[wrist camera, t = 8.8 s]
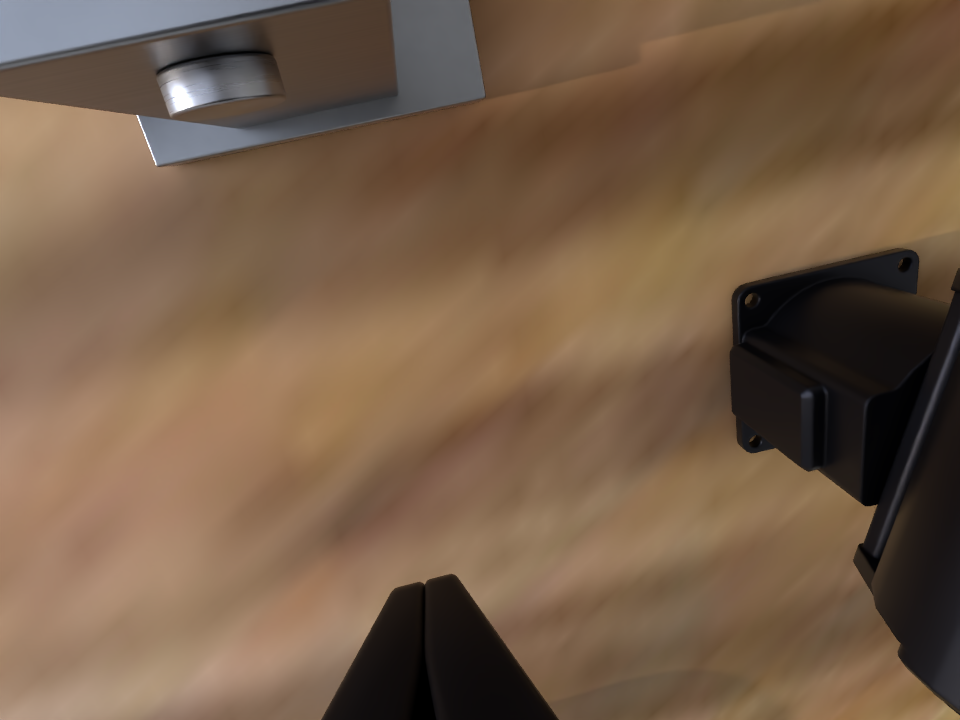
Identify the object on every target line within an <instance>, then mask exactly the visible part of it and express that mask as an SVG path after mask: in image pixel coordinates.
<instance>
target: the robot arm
mask: <svg viewBox="0 0 960 720" xmlns="http://www.w3.org/2000/svg"><path fill="white" fill-rule="evenodd" d="M902 259H903V262H902V265H901V266H900V267H899V268H898V265H899V262H900V261H901V260H902ZM918 269H919V256H918V255H917V253H916V252H914V251H912V250H908V249H903V248H897V249H892V250H888V251H884V252H879V253H875V254H871V255H866V256H862V257H858V258H853V259H849V260H845V261H840V262H836V263H832V264H827V265H823V266H819V267H814V268H810V269H806V270H801V271H797V272H793V273H788V274H784V275H780V276H775V277H771V278H767V279H763V280H758V281H754V282H750V283H745V284H743V285H741V286H739V287H738V288H737V289H736V290H735V291H734V293H733V295H732V324H733V347H732V349H731V351H730V375H731V399H732V412H733V414H734V415H735V416H736V427H737V441H738V444H739V445H740V446H741V447H742V448H743V449H744V450H746V451H747V452H749V453H757V452H761V451H765V450H769V449H773V448H777V449H778V450H779V451H781V452H782V453H783V454H784V455H786V456H787V457H788V458H789V459H791V460H792V461H793V462H794V463H796V464H797V465H798V466H800V467H801V468H803V469H804V470H806V471H808V472H809V471H813V470H819V471H820V472H821V473H822V474H824V475H825V476H826V477H828V478H829V479H830V480H832V481H833V482H834V483H835V484H837V485H838V486H839V487H841V488H842V489H843V490H845V491H846V492H847V493H848V494H850V495H851V496H852V497H854V498H855V499H856V500H858V501H859V502H860V503H861V504H863V505H864V506H873V505H877V504H878V505H877V508H876V511H875V513H874V516H873V519H872V522H871V524H870V527H869V530H868V533H867V535H866V538H865V541H864V543H861V544H859V545H858V548H857V551H856V553H855V556H854V559H853V562H854V564H855V565H856V567H857V569H858V571H859V572H860V574H861V576H862V577H863V579H864V581H865V582H866V584H867V586H868V587H869V589H870V591H871V592H872V594H873V596H874V601H875V606H876V609H877V610H878V612H879V613H880V615H881V616H882V618H883V619H884V621H885V622H886V624H887V625H888V627H889V628H890V630H891V631H892V633H893V634H894V636H895V637H896V639H897V640H898V641H899V642H900V643H901V645H900V647H899V650H898V656H899V658H900V659H901V661H902V662H903V663H904V665H905V666H906V667H907V669H908V670H909V671H910V672H911V673H912V674H914V675H915V676H916V677H917V678H918V679H919V680H920V681H921V682H922V683H923V684H924V685H925V686H926V687H927V688H928V689H930V690H931V691H932V692H933V693H934V694H935V695H936V696H937V697H938V698H940V699H941V700H942V701H944V702H945V703H946V704H947V705H948V706H949V707H950V708H951V709H953V710H954V711H955V712H956V713H958V714H959V715H960V268H958V271H957V273H956V276H955V279H954V282H953V285H952V287H951V290H953V291H955V294H954V296H953V299H952V302H951V304H948V303H944V302H941V301H937V300H934V299H930V298H927V297H923V296H919V295H916V293H917V281H918ZM751 293H752V295H753V297H752V300H751V301H750V303H748V304H745V299H746V297H747V296H748V295H749V294H751ZM755 435H756V437H755V439H754V440H753V441H751V442H749V441H750V439H751V438H752V437H753V436H755ZM321 720H559V719H558V718H557V716H556V715H555V714H554V712H553V711H552V709H551V708H550V707H549V705H548V704H547V702H546V701H545V700H544V698H543V697H542V695H541V694H540V692H539V691H538V690H537V688H536V687H535V685H534V684H533V683H532V681H531V680H530V678H529V677H528V676H527V674H526V673H525V671H524V670H523V669H522V667H521V666H520V664H519V663H518V662H517V660H516V659H515V657H514V656H513V655H512V653H511V652H510V650H509V649H508V648H507V646H506V645H505V643H504V642H503V640H502V639H501V638H500V636H499V635H498V633H497V632H496V631H495V629H494V628H493V626H492V625H491V624H490V622H489V621H488V619H487V618H486V617H485V615H484V614H483V612H482V611H481V610H480V608H479V607H478V605H477V604H476V603H475V601H474V600H473V598H472V597H471V596H470V594H469V593H468V591H467V590H466V589H465V587H464V586H463V584H462V583H461V581H460V580H459V579H458V577H457V576H456V575H454V574H449V575H445V576H441V577H437V578H433V579H429V580H428V581H427V582H426V584H425V585H424V584H423V583H422V582H417V583H413V584H409V585H405V586H401V587H397V588H395V589H394V590H393V591H392V592H391V594H390V596H389V597H388V599H387V601H386V603H385V605H384V606H383V608H382V610H381V612H380V614H379V616H378V617H377V619H376V621H375V623H374V625H373V627H372V628H371V630H370V632H369V634H368V636H367V637H366V639H365V641H364V643H363V645H362V647H361V648H360V650H359V652H358V654H357V656H356V658H355V659H354V661H353V663H352V665H351V667H350V668H349V670H348V672H347V674H346V676H345V678H344V679H343V681H342V683H341V685H340V687H339V688H338V690H337V692H336V694H335V696H334V698H333V699H332V701H331V703H330V705H329V707H328V709H327V710H326V712H325V714H324V716H323V718H322V719H321Z"/></svg>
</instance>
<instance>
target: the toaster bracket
mask: <svg viewBox="0 0 960 720" xmlns="http://www.w3.org/2000/svg"><path fill="white" fill-rule="evenodd" d="M0 97H7V98H15V99H22V100H29V101H37V102H44V103H51V104H59V105H66V106H74V107H81V108H88V109H96V110H103V111H110V112H118V113H125V114H133V115H137V118H138V120H139V123H140V125H141V128H142V131H143V133H144V136H145V138H146V141H147V144H148V146H149V149H150V151H151V154H152V157H153V159H154V162H155V164H156V166H157V167H165V166H176V165H181V164H186V163H190V162H195V161H200V160H205V159H209V158H214V157H219V156H224V155H228V154H233V153H238V152H243V151H247V150H252V149H257V148H262V147H266V146H271V145H276V144H281V143H285V142H290V141H295V140H300V139H304V138H309V137H314V136H319V135H323V134H328V133H333V132H338V131H342V130H347V129H352V128H357V127H361V126H366V125H371V124H376V123H380V122H385V121H390V120H395V119H399V118H404V117H409V116H414V115H418V114H423V113H428V112H433V111H437V110H442V109H447V108H452V107H456V106H461V105H466V104H471V103H475V102H479V101H481V100H483V99H484V98H485V97H486V93H485V88H484V82H483V76H482V71H481V65H480V59H479V54H478V48H477V42H476V37H475V31H474V25H473V20H472V14H471V9H470V3H469V0H0Z"/></svg>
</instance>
